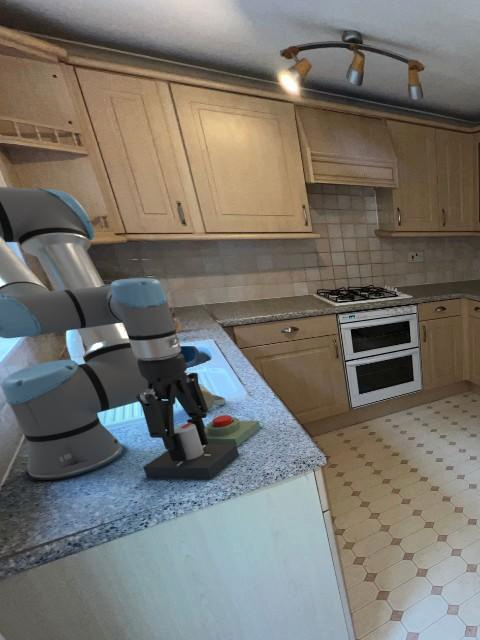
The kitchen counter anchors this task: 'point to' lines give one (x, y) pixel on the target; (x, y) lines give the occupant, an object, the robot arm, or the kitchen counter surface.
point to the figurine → (175, 322)
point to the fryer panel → (193, 464)
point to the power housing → (231, 432)
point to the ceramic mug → (211, 398)
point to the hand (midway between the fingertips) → (190, 451)
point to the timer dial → (189, 440)
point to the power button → (222, 421)
